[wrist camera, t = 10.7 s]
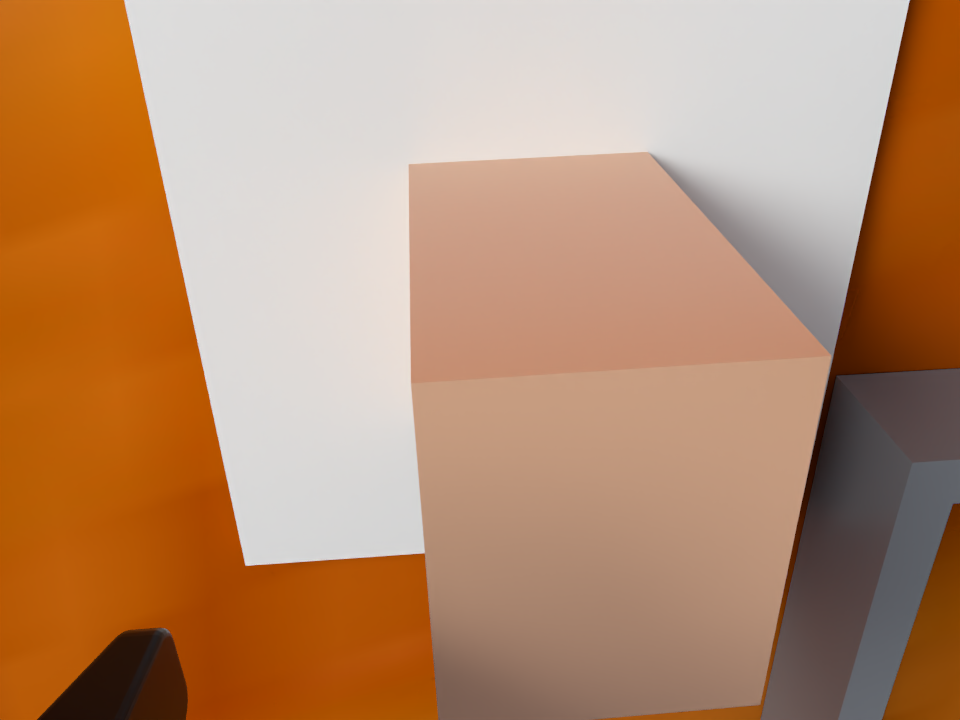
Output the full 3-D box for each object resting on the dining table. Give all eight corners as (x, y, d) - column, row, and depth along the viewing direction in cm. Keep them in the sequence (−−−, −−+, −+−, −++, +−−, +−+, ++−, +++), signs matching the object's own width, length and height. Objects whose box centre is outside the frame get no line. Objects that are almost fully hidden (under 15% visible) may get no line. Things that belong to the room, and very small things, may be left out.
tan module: (630, 403, 17) (760, 704, 10) (427, 417, 16) (439, 732, 10) (647, 152, 14) (831, 355, 8) (408, 164, 14) (410, 383, 8)
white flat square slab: (785, 509, 19) (796, 527, 18) (250, 546, 18) (245, 565, 18) (908, -91, 13) (928, -90, 13) (122, -69, 12) (109, -68, 12)
